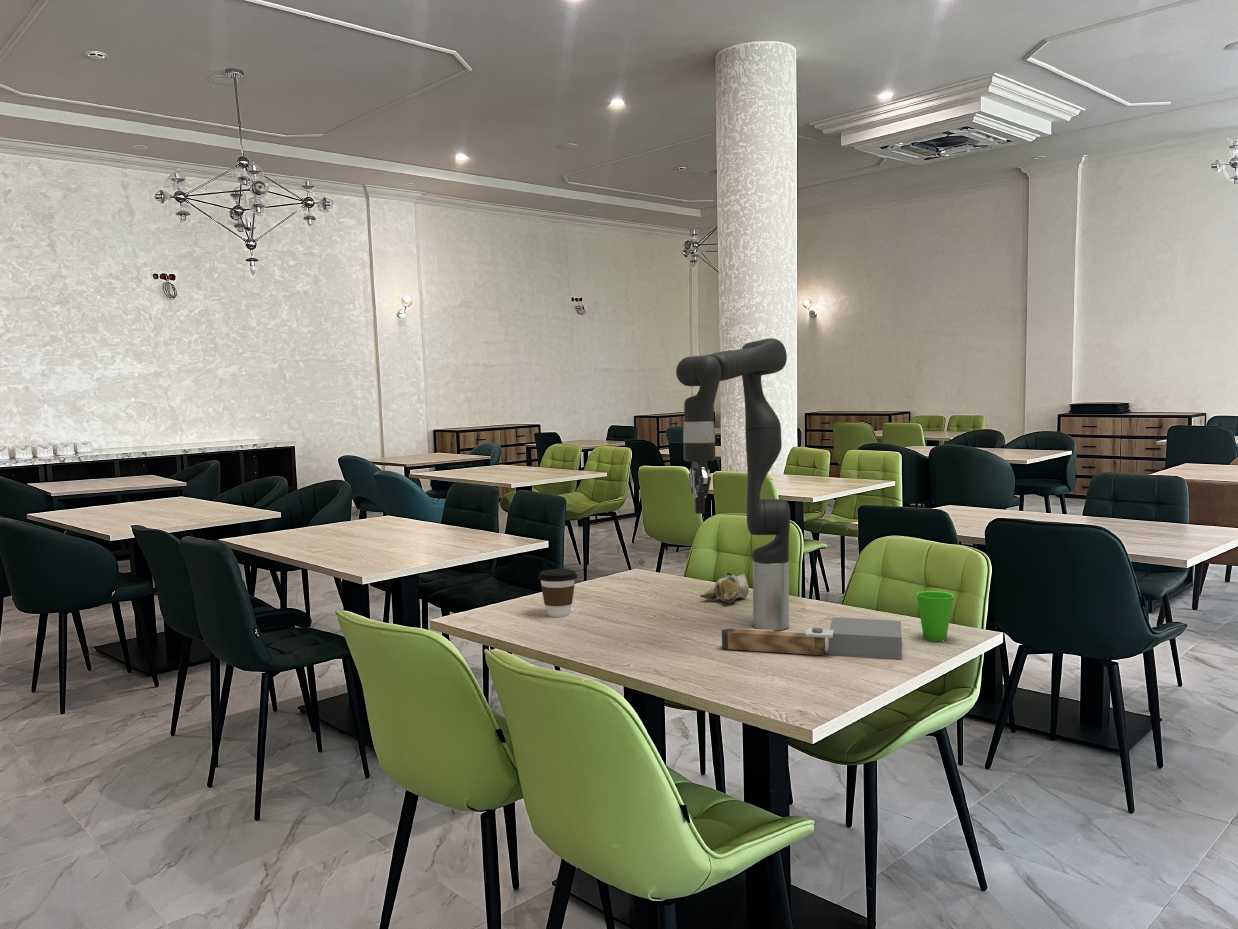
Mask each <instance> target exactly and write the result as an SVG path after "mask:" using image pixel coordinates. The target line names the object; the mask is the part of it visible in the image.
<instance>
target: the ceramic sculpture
mask: <svg viewBox="0 0 1238 929" xmlns="http://www.w3.org/2000/svg"><path fill="white" fill-rule="evenodd" d="M748 583H749V582H748V580H747V577H746V574H745V573H742V574H740V575H735V574H734V573H730V572H728V573H726V574H725V576H724V577H721V578H719V579H718V580H716V582H715V585H714V587H712V588H710V589H709V590H707V591H706V592H705V593H704V594H700V595H699V597H700V598H704V599H706V600H715V599H718V600H719V601H720V600H721V601H720V602H723V601H724V603H727V604H729V603H730V604H731V603H733V602H734V601H735V600H736V599H738V598H741V600H744V599H746V598H747V596H748V595H749V590H750V589H749V588H750V587H749V584H748Z"/></svg>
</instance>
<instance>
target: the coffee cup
mask: <svg viewBox="0 0 1238 929" xmlns="http://www.w3.org/2000/svg"><path fill="white" fill-rule="evenodd" d="M577 578H578V574H576V571H575V570H573V569H569V568H553V569H552V568H551V569H544V570H541V571H540V572H539V574H538V578H537V579H538V580H540V583H541V585H540V587H541V591H542V599H543V604H544V606H545V611H546V614H547V616H548V617H552V618H563V617H568V616H570V614H571V611H572V604H573V600H574V592H575V579H577Z"/></svg>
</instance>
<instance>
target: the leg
mask: <svg viewBox="0 0 1238 929" xmlns="http://www.w3.org/2000/svg"><path fill="white" fill-rule="evenodd" d="M805 634H806V632H793V631H791V632H790V631H780V630H774V631H761V630H748V629H744V628H743V629H740V628H723V629H721V648H722V649H725V650H737V651H738V650H739V651H750V652H751V651H752V652H768V653H769V652H770V653H783V654H784V653H785V654H800V655H801V654H802V655H813V656H814V655H815V656H824V655H825V654H826V638H823V637H807V636H805Z"/></svg>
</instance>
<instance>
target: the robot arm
mask: <svg viewBox="0 0 1238 929" xmlns="http://www.w3.org/2000/svg"><path fill="white" fill-rule="evenodd" d="M787 357H788V356H787V350H786V347H785V345H784V343H783V342H782V341H781V340H779V339H777V338H772V337H771V338H764V339H759V340H755V341H751V342H747V343H745V344H743V346H742V347H741V348H739V349H731V350H723V351H719V352H714V353H711V354H705V355H691V356H686V357H684V358H682V359H681V360H680V361H679V362H678V364H677V366H676V370H675V374H676V378H677V380H678V381H679V383H681V384H682V385H683V386H686V387H699V389H698V391H697V394H695V395H692V396H689V397H687V398H685V400H684V402H683V403H684V404H683V413H684V414H683V419H684V420H683V422H684V423H683V432H682V433H683V439H682V441H683V444H682V445H683V460H684V461H685V462H691V468H690V469H689V473H688V479H689V483H690V484H689V485H690V489H691V494H692V495H693V498H694V513H696V514H699V515H703V514H705V513H706V499H707V496H709V490H710V486H711V481H712V475H710V468H708V467H709V466H708V462H712V461H715V460H716V427H715V422H714V421H715V412H714V411H715V409H714V408H715V401H716V399H717V398H716V397H717V392H718V389H719V386H720V382H723V381H727V380H731V379H734V378H738V377H741V380H742V387H743V395H744V396H743V398H744V415H745V416H744V417H745V429H744V430H745V431H744V432H745V449H746V450H745V455H746V466H747V467H746V470H747V472H746V473H747V492H746V493H747V494H746V526H747V530H748V532H749V534H751V535H753V536H775V537H774V539H772V540H771V541H770V542H768V543H767V544H764V545H762V546H760V547H757V548H755V549H753V552H752V606H753V607H752V626H753V627H754V629H765V630H774V631H782V630H783V631H784V630H786V629H789V627H790V526H791V509H790V505H789V502H788V501H787V499H781V498H775V499H773V498H772V499H771V498H769V499H761V491H762V487H763V484H764V482H765V479H767V476H768V474H769V472H770V470H771V469H772V467H773V466H774V465H775V464H774V463H775V462H776V461H777V459H778V457H779V456H780V453H781V450H782V446H783V444H782V443H783V442H782V426H781V421H780V419H779V416H778V415H777V414H776V412H775V410H774V409H773V407H772V406H771V404H770V403H769V402H768V400H767V398H766V397H765V394H764V392H763V385H762V376H766V375H772V374H776V373H779V372H780V371H782V370H783V369H784V368H785V366H786V365H787V360H788V358H787Z"/></svg>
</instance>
